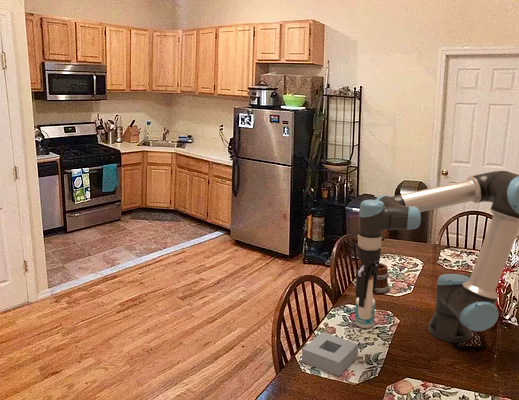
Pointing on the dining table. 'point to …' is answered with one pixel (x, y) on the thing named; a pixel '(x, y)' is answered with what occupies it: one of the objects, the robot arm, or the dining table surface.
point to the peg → (368, 299)
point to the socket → (330, 353)
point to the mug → (381, 279)
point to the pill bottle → (363, 322)
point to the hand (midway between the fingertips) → (364, 312)
